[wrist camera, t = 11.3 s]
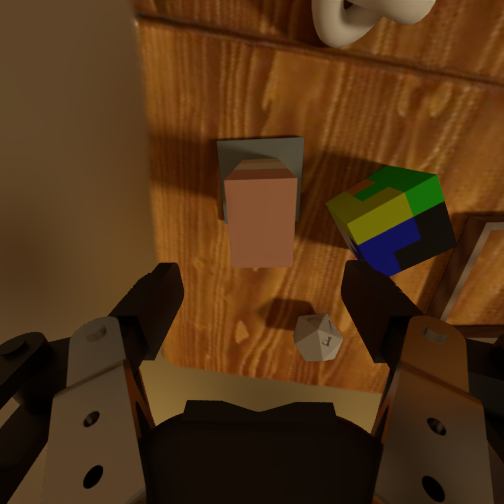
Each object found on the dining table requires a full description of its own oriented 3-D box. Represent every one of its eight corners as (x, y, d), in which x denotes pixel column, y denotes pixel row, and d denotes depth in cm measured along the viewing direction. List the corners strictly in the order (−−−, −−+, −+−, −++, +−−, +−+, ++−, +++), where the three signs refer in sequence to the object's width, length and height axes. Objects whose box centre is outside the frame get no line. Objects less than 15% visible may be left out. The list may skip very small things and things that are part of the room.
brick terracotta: (233, 170, 20) (223, 180, 15) (287, 168, 20) (297, 178, 15) (238, 238, 23) (231, 267, 18) (284, 237, 23) (292, 267, 18)
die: (340, 310, 44) (360, 352, 36) (316, 337, 48) (328, 382, 39) (304, 295, 43) (316, 336, 34) (282, 325, 47) (288, 368, 38)
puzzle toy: (349, 249, 38) (376, 282, 29) (324, 202, 34) (346, 224, 26) (407, 219, 35) (457, 245, 26) (387, 165, 32) (436, 174, 23)
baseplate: (218, 141, 31) (216, 141, 30) (302, 137, 30) (304, 137, 29) (226, 221, 36) (224, 223, 35) (297, 219, 36) (298, 221, 35)
